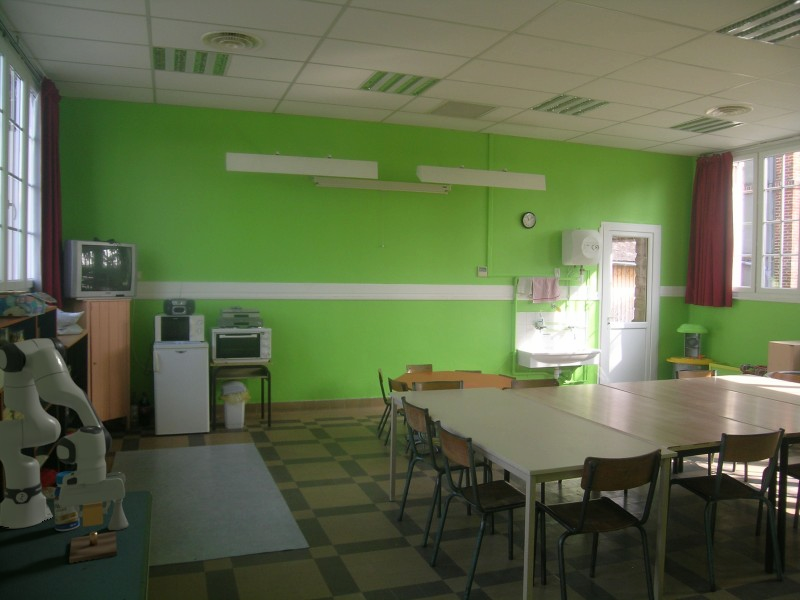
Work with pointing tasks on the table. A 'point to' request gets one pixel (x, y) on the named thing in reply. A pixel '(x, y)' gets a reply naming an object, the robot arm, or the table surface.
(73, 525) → the beverage bottle
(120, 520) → the flask
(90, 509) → the mustard brick
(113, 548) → the walnut post base
